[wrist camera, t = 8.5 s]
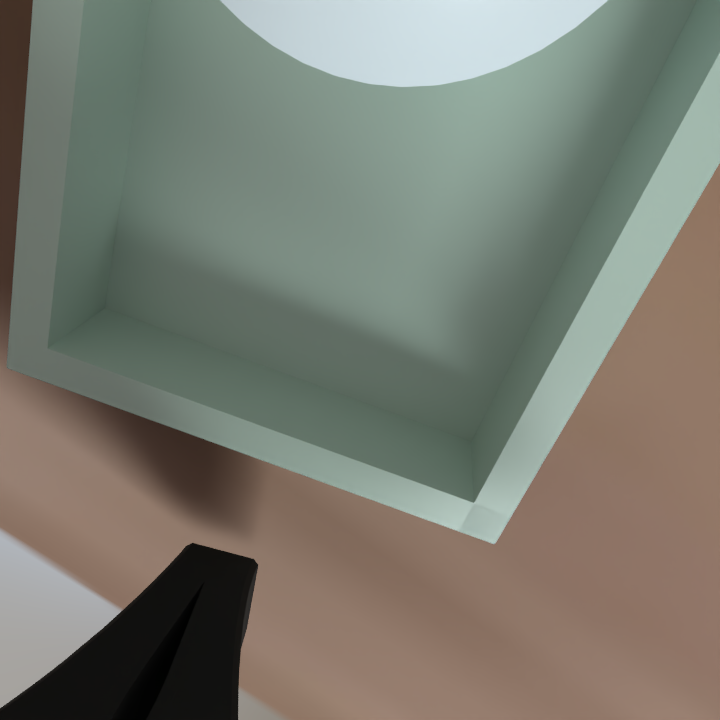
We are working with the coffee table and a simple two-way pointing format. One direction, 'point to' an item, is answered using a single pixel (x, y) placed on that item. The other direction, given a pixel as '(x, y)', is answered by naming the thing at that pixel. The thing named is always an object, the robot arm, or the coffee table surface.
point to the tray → (351, 238)
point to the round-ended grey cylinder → (411, 34)
